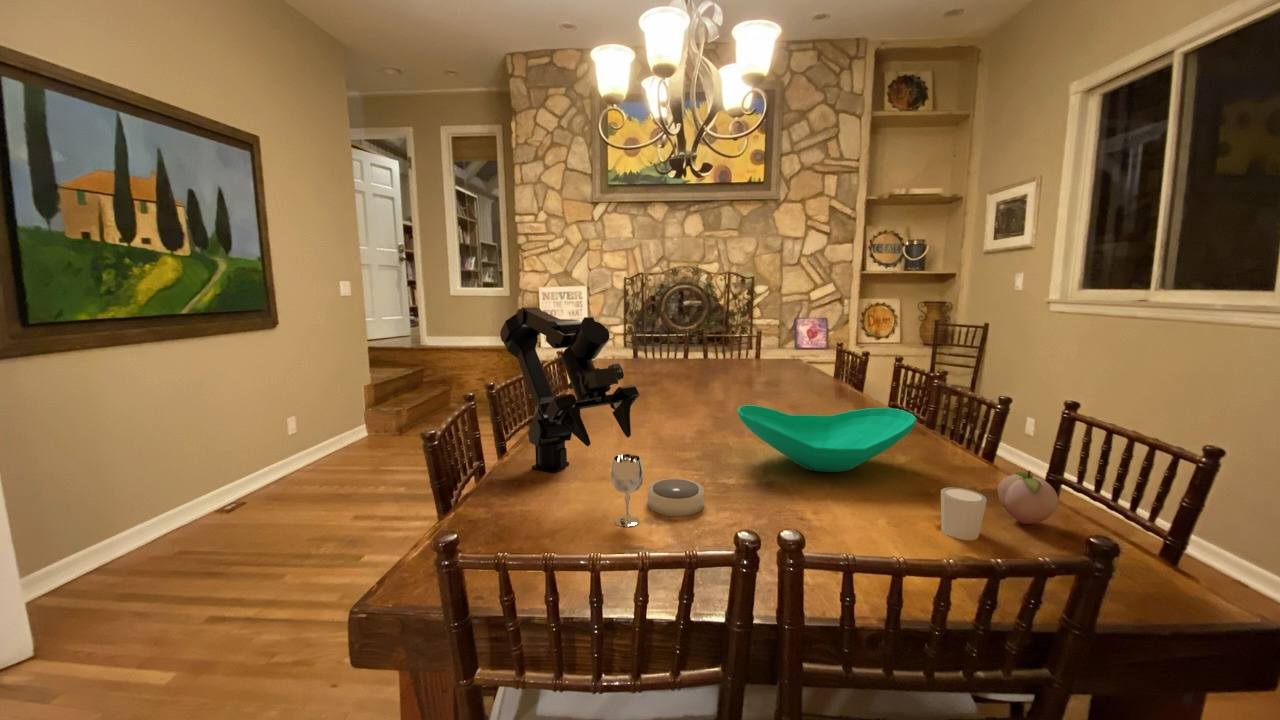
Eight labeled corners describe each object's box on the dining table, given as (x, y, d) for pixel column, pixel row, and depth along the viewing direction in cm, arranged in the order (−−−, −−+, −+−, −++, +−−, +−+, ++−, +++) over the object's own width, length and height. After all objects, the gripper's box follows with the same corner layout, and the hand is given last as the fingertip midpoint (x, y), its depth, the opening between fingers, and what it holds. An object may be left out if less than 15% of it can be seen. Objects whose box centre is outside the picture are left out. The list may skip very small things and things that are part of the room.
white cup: (928, 524, 95) (931, 487, 94) (964, 522, 96) (968, 486, 95) (954, 542, 89) (958, 503, 87) (992, 541, 89) (996, 502, 88)
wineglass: (639, 530, 93) (639, 465, 91) (607, 527, 94) (607, 462, 92) (645, 516, 98) (646, 454, 96) (615, 513, 99) (615, 452, 98)
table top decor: (742, 487, 112) (744, 426, 110) (730, 446, 139) (731, 397, 137) (937, 493, 109) (942, 431, 107) (885, 450, 136) (889, 400, 134)
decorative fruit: (1066, 538, 90) (1073, 482, 89) (1013, 534, 92) (1019, 479, 90) (1035, 514, 99) (1042, 463, 98) (988, 510, 101) (993, 460, 99)
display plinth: (638, 509, 101) (638, 492, 101) (661, 488, 111) (661, 473, 110) (692, 520, 96) (692, 503, 96) (711, 498, 106) (711, 482, 106)
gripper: (553, 354, 96) (583, 429, 90) (636, 346, 107) (667, 413, 101) (534, 385, 104) (560, 457, 98) (613, 375, 115) (641, 439, 109)
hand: (609, 440), depth 101 cm, fingers open, 9 cm apart
